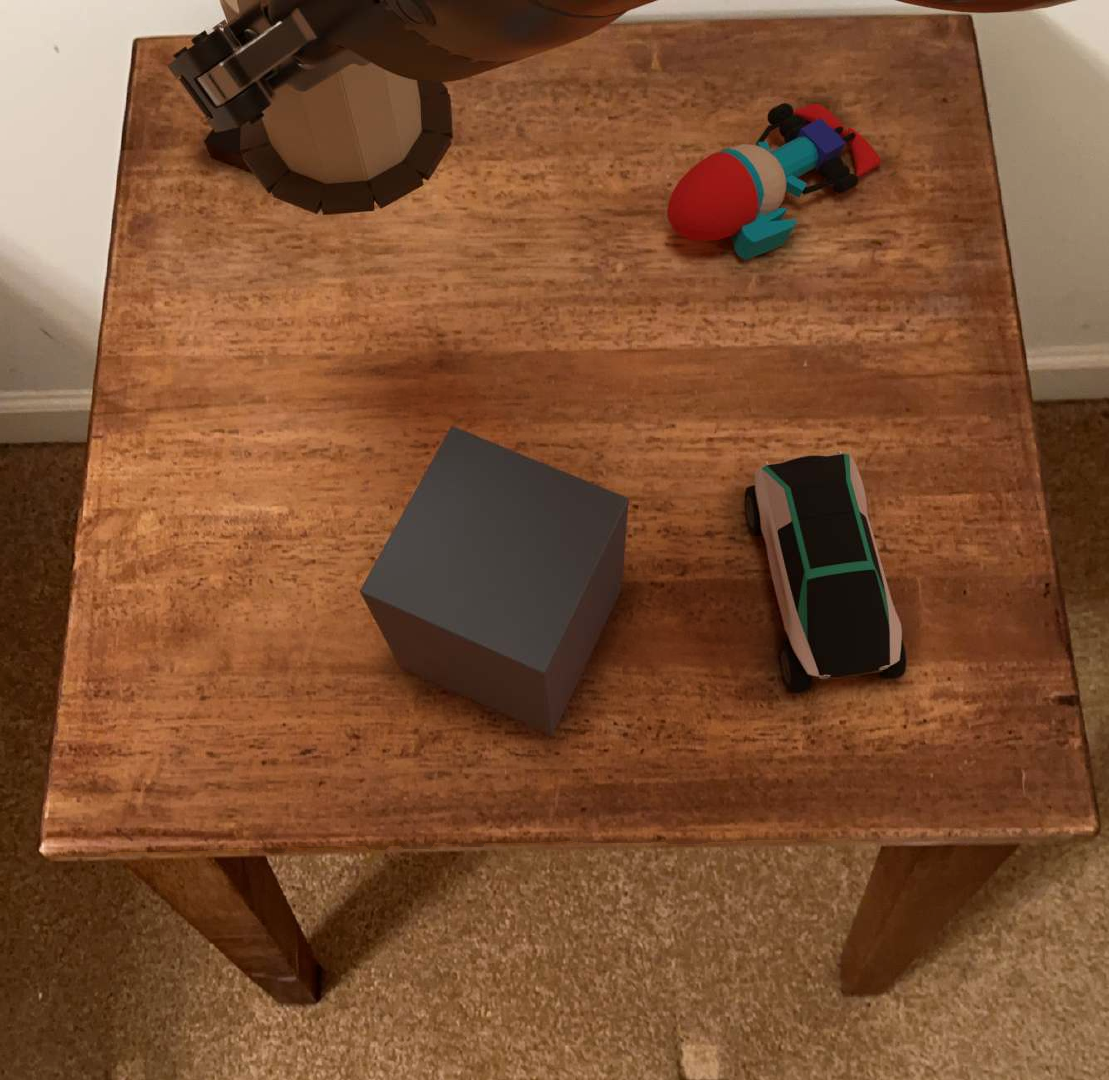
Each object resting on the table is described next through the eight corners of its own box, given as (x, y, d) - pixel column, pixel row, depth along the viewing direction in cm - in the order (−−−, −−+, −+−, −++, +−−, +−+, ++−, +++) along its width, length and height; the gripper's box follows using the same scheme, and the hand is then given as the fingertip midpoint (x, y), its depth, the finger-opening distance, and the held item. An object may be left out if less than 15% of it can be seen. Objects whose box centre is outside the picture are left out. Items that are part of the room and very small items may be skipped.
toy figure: (801, 116, 78) (627, 206, 72) (828, 58, 73) (646, 150, 68) (877, 196, 76) (705, 295, 71) (910, 142, 72) (729, 242, 66)
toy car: (843, 478, 66) (863, 434, 61) (898, 683, 62) (924, 654, 57) (740, 493, 66) (752, 451, 61) (787, 700, 62) (804, 672, 57)
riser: (552, 736, 61) (544, 674, 50) (399, 667, 63) (358, 591, 52) (622, 588, 64) (629, 497, 53) (474, 525, 66) (451, 424, 55)
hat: (389, 243, 45) (351, 90, 38) (203, 170, 47) (131, 9, 39) (488, 86, 48) (470, -85, 41) (309, 22, 49) (260, -153, 42)
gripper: (617, -395, 30) (381, -178, 44) (161, -96, 26) (66, 35, 40) (748, -104, 33) (490, 10, 47) (361, 197, 29) (208, 221, 44)
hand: (295, 21), depth 44 cm, fingers closed on hat, 6 cm apart
